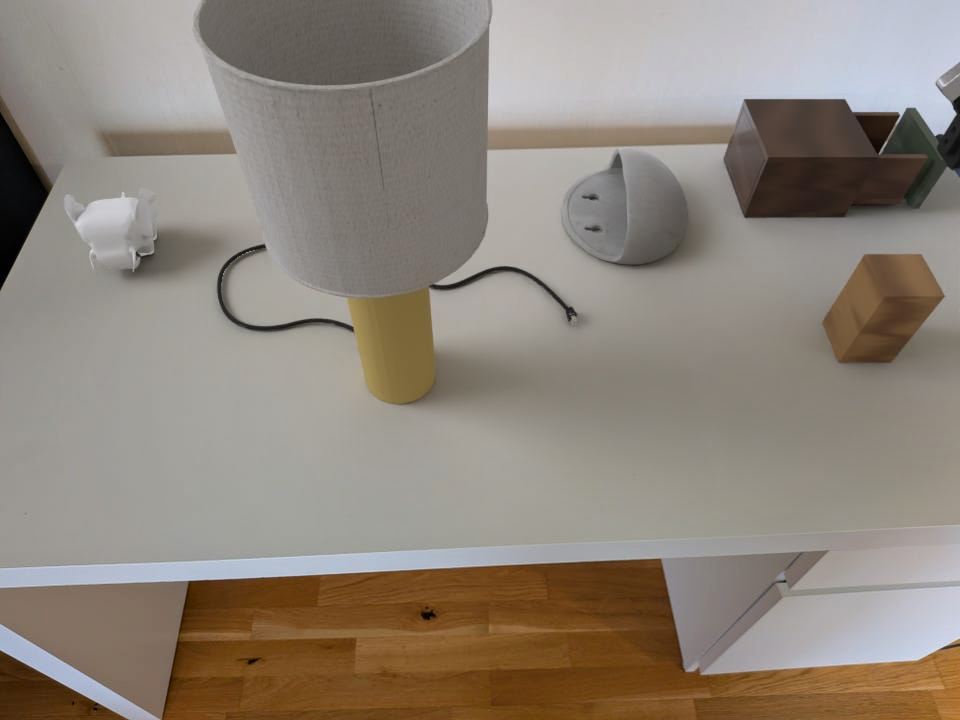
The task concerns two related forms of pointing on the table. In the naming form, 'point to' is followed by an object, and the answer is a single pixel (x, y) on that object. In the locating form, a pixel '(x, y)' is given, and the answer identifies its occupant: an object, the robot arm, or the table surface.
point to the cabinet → (798, 157)
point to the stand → (881, 307)
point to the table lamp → (361, 157)
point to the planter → (627, 209)
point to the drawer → (900, 158)
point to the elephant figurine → (116, 228)
